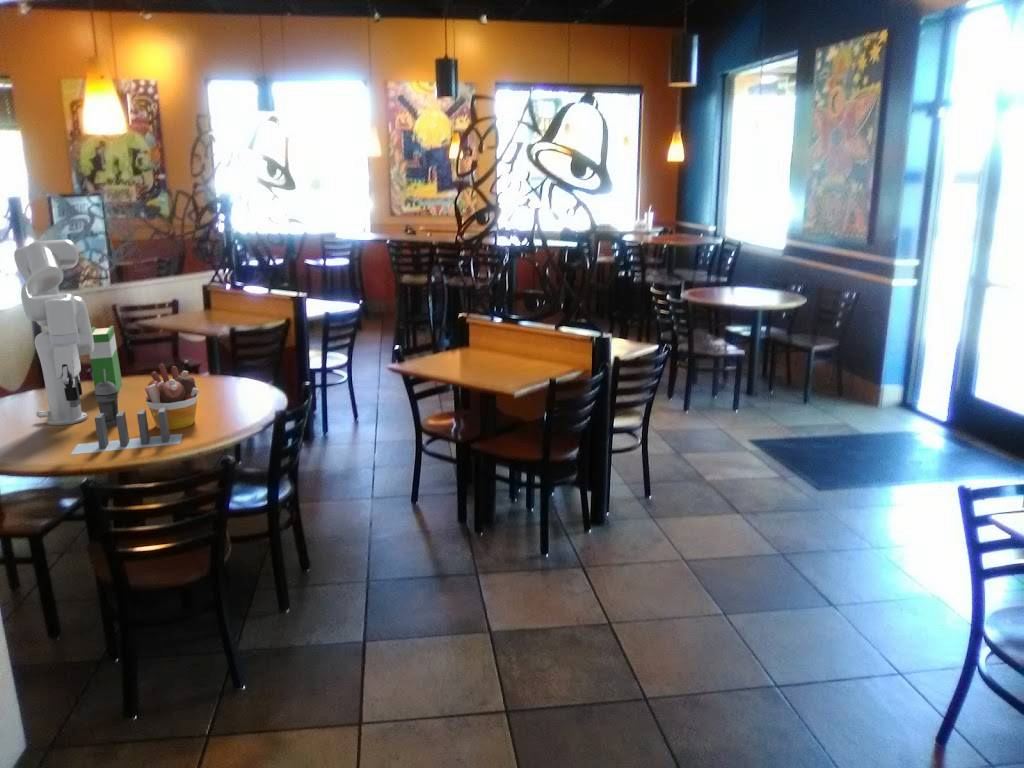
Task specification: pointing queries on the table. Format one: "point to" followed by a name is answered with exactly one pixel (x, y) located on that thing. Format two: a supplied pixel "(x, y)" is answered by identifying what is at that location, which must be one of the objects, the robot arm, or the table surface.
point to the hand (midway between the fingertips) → (74, 397)
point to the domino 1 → (77, 402)
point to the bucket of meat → (173, 397)
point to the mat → (132, 444)
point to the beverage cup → (107, 401)
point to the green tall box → (105, 357)
